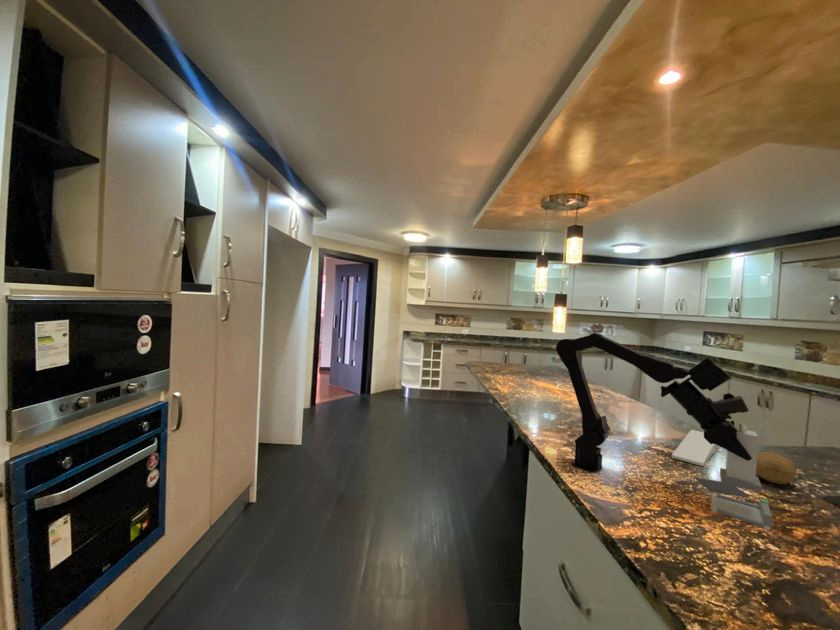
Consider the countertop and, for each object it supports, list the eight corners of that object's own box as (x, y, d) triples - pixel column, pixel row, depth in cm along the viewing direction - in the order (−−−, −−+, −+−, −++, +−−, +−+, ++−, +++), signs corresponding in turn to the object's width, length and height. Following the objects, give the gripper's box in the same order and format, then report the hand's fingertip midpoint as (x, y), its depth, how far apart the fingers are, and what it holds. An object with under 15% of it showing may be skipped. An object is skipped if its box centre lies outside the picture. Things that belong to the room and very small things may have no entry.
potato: (790, 479, 107) (791, 452, 107) (801, 495, 96) (803, 466, 96) (746, 468, 113) (748, 444, 113) (752, 483, 102) (753, 455, 102)
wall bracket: (701, 485, 112) (717, 455, 131) (709, 466, 110) (724, 438, 129) (665, 467, 119) (685, 440, 138) (672, 448, 117) (691, 424, 136)
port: (711, 512, 84) (712, 497, 84) (711, 496, 92) (712, 483, 92) (771, 530, 77) (772, 515, 77) (765, 511, 86) (766, 497, 86)
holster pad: (710, 492, 94) (710, 491, 94) (694, 478, 103) (694, 477, 103) (751, 499, 92) (751, 498, 92) (731, 484, 101) (731, 483, 101)
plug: (721, 482, 85) (724, 424, 85) (719, 473, 91) (723, 419, 91) (761, 493, 81) (765, 432, 81) (757, 483, 86) (760, 425, 86)
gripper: (725, 387, 81) (792, 449, 74) (721, 379, 96) (777, 430, 89) (681, 414, 86) (739, 474, 79) (683, 402, 100) (733, 452, 93)
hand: (748, 456), depth 85 cm, fingers closed on plug, 5 cm apart
